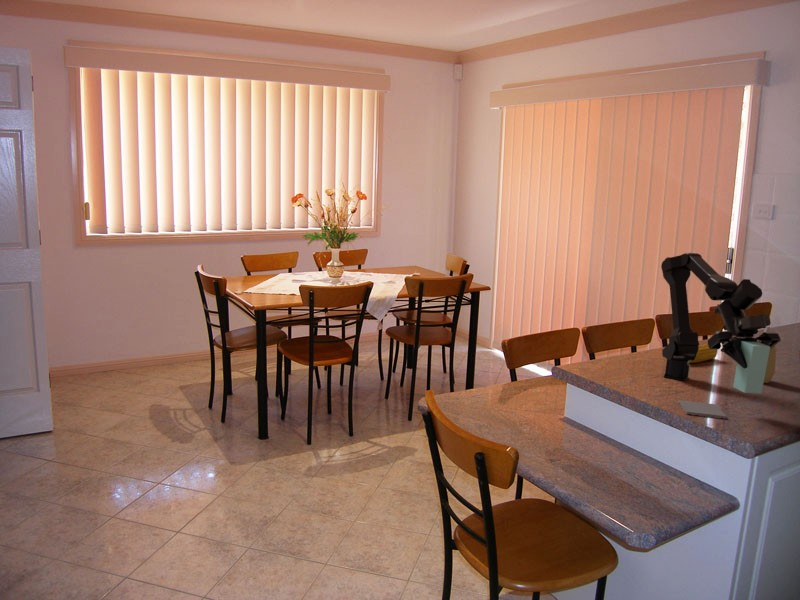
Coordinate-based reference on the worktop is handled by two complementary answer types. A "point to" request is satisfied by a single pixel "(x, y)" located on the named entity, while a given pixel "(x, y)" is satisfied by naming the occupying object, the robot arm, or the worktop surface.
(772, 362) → the squeeze bottle
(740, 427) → the worktop surface
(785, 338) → the worktop surface
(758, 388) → the teal block
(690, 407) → the rubber mat
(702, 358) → the food
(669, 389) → the worktop surface
